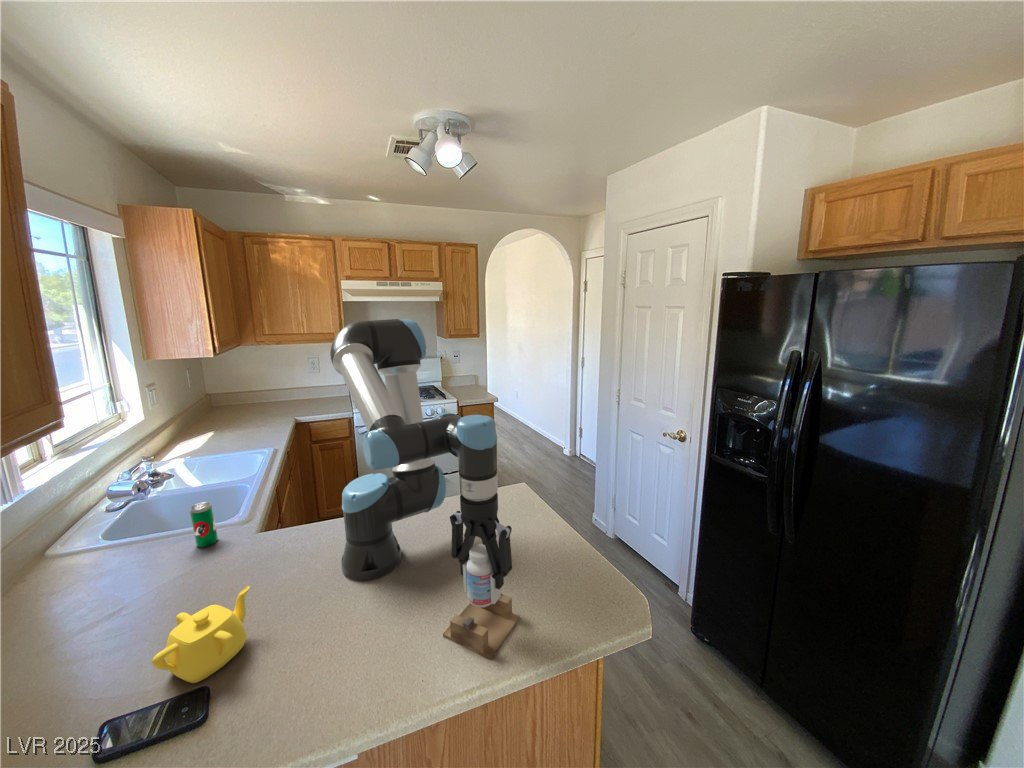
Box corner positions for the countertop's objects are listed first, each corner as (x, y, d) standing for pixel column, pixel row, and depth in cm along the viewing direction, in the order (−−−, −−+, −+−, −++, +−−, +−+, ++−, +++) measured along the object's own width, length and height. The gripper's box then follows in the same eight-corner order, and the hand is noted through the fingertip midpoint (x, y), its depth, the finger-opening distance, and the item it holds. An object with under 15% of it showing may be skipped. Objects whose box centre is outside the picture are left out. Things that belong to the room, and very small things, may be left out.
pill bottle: (474, 612, 81) (472, 563, 79) (463, 593, 87) (461, 547, 84) (501, 602, 84) (500, 554, 82) (489, 584, 89) (487, 538, 87)
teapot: (186, 639, 85) (177, 597, 83) (257, 623, 89) (250, 582, 87) (155, 700, 72) (143, 652, 70) (239, 677, 76) (230, 631, 74)
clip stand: (442, 636, 85) (441, 613, 84) (475, 599, 95) (474, 578, 94) (491, 660, 79) (490, 636, 78) (520, 618, 90) (520, 596, 88)
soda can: (221, 541, 119) (214, 504, 116) (201, 550, 114) (193, 512, 112) (213, 536, 121) (206, 499, 119) (193, 544, 117) (185, 507, 114)
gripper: (429, 490, 82) (435, 590, 87) (511, 513, 73) (513, 623, 78) (452, 476, 88) (456, 569, 93) (530, 495, 79) (530, 598, 84)
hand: (482, 593), depth 85 cm, fingers closed on pill bottle, 6 cm apart
